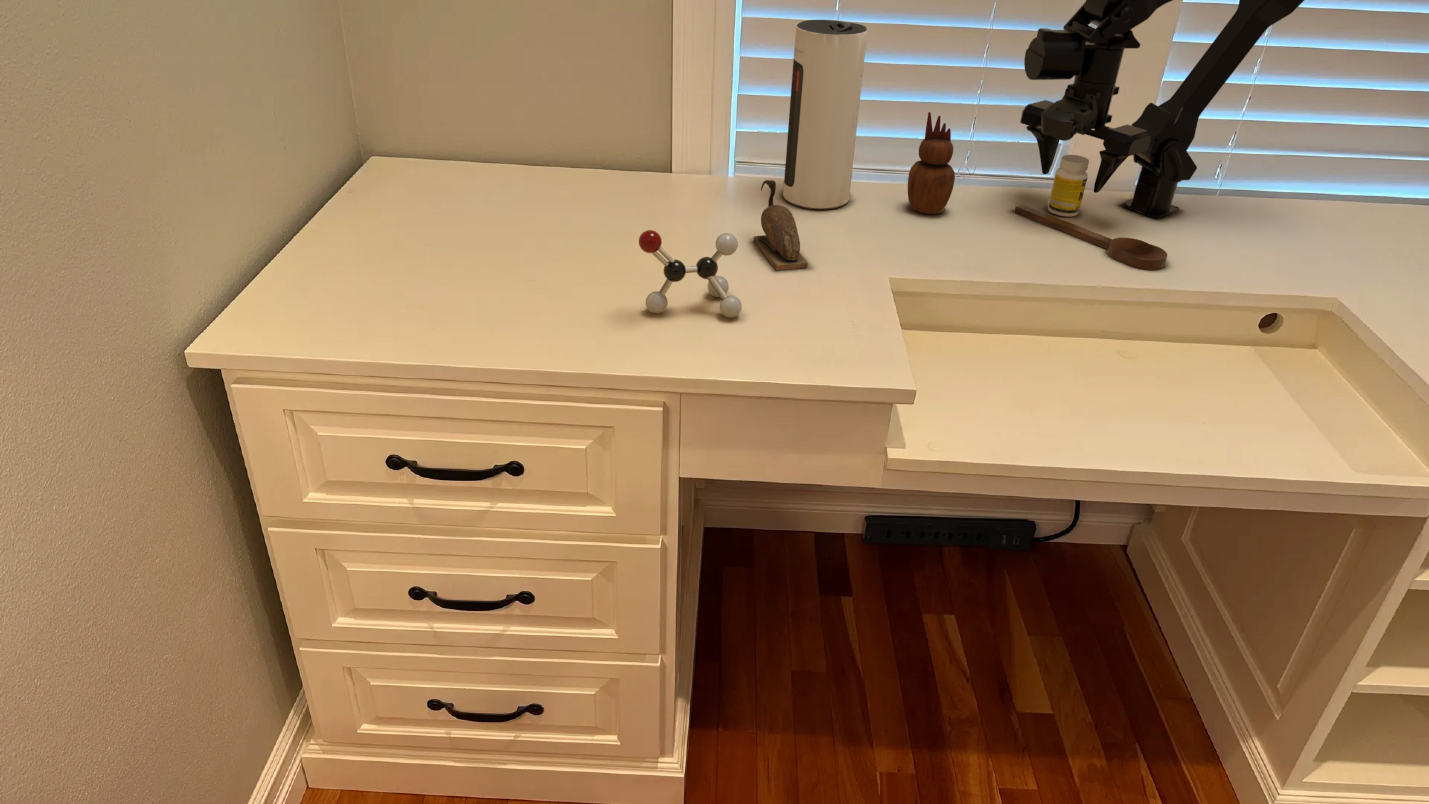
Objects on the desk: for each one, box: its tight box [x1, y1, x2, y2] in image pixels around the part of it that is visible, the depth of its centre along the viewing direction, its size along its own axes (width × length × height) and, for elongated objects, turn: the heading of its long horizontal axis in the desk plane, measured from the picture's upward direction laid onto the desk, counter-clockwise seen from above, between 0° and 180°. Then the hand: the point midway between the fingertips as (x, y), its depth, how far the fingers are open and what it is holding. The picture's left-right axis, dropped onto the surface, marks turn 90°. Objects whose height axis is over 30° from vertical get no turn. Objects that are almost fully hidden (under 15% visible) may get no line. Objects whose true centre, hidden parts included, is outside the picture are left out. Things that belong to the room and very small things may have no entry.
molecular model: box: [638, 229, 743, 319], centre depth 118 cm, size 8×12×11 cm
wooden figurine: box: [907, 111, 956, 215], centre depth 147 cm, size 7×6×15 cm
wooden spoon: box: [1013, 203, 1168, 271], centre depth 144 cm, size 24×6×2 cm, turn 38°
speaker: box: [782, 19, 869, 210], centre depth 147 cm, size 11×10×26 cm
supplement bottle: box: [1047, 154, 1090, 217], centre depth 151 cm, size 5×5×8 cm
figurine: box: [753, 179, 809, 271], centre depth 135 cm, size 14×4×9 cm, turn 17°
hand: (1070, 182), depth 150 cm, fingers open, 9 cm apart
